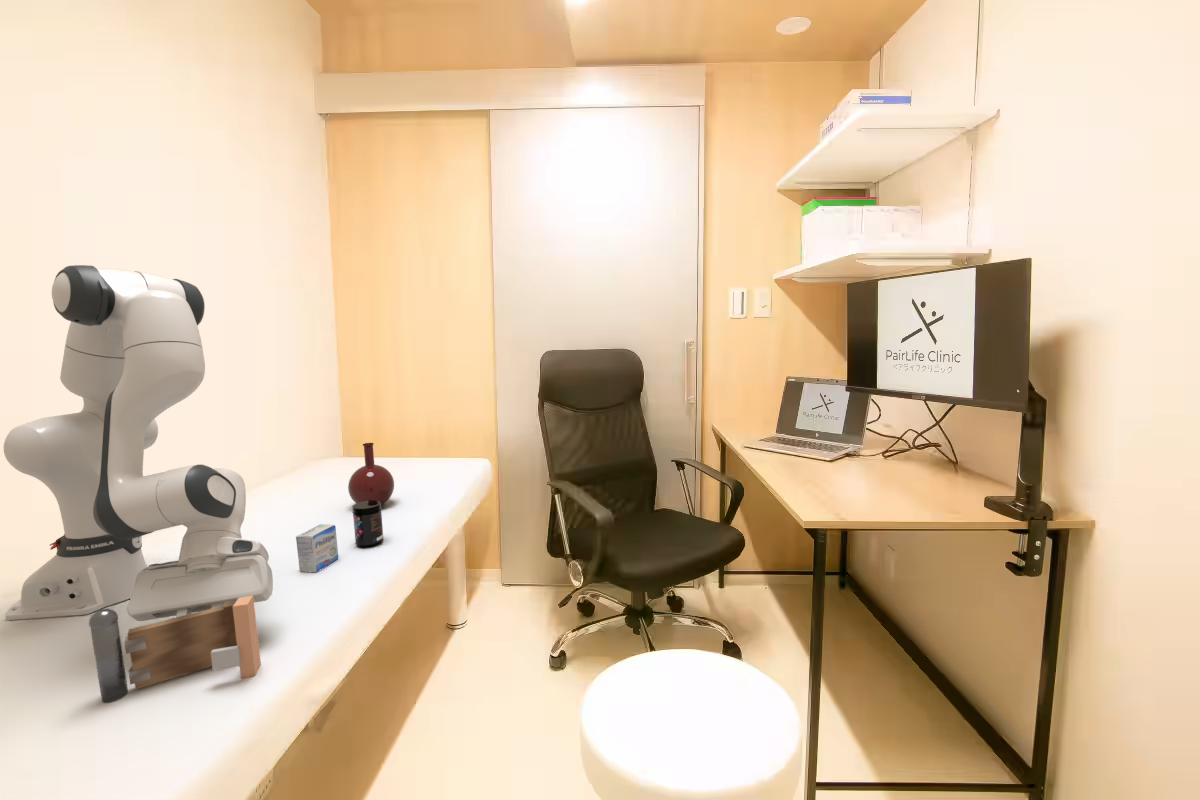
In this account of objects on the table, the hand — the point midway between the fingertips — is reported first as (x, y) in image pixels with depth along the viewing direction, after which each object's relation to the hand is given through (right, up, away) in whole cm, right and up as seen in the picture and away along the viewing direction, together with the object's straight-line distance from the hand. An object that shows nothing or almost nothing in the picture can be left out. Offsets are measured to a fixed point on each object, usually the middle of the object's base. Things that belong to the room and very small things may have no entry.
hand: (197, 636), depth 89 cm
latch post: (+8, -5, -2) cm, 10 cm away
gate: (0, -5, -2) cm, 5 cm away
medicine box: (0, 0, +38) cm, 38 cm away
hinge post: (-7, -6, -7) cm, 12 cm away
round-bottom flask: (-5, +5, +80) cm, 81 cm away
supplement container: (+7, +2, +51) cm, 51 cm away
